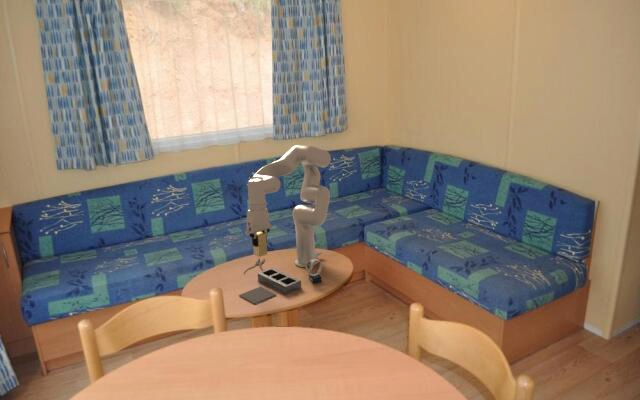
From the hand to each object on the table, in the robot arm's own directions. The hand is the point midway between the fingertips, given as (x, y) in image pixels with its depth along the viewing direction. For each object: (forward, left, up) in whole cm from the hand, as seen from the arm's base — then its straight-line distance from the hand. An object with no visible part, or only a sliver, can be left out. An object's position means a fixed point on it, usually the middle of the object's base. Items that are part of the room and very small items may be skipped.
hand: (259, 244), depth 219 cm
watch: (-22, +12, -22) cm, 33 cm away
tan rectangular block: (0, 0, -5) cm, 5 cm away
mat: (+6, +4, -22) cm, 23 cm away
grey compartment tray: (-8, +2, -22) cm, 24 cm away
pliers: (-12, -24, -23) cm, 35 cm away
